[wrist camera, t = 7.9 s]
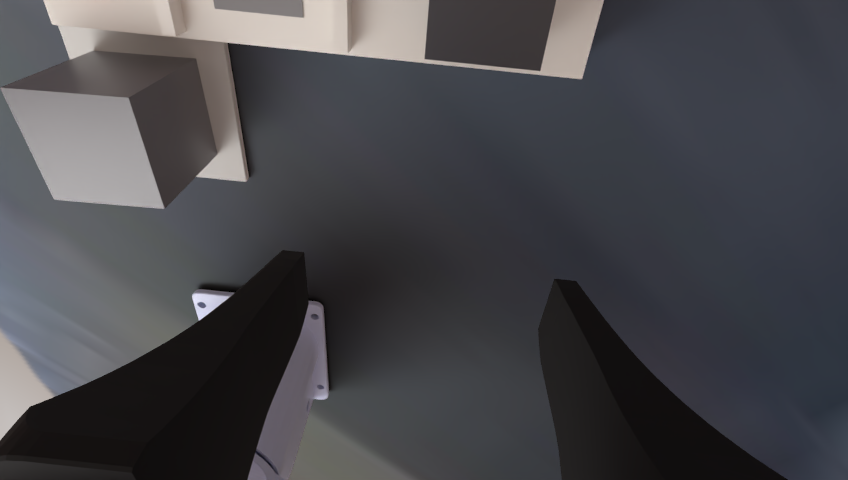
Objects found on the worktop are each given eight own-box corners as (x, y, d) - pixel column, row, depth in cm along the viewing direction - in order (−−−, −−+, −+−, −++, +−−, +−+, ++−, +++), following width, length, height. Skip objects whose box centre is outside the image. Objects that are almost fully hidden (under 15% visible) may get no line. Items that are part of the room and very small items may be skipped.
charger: (195, 58, 20) (128, 97, 16) (218, 155, 23) (164, 210, 19) (93, 50, 20) (0, 87, 16) (127, 148, 23) (54, 201, 19)
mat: (249, 178, 24) (246, 181, 23) (113, 164, 24) (108, 167, 23) (225, 31, 20) (222, 33, 19) (61, 15, 20) (55, 16, 19)
